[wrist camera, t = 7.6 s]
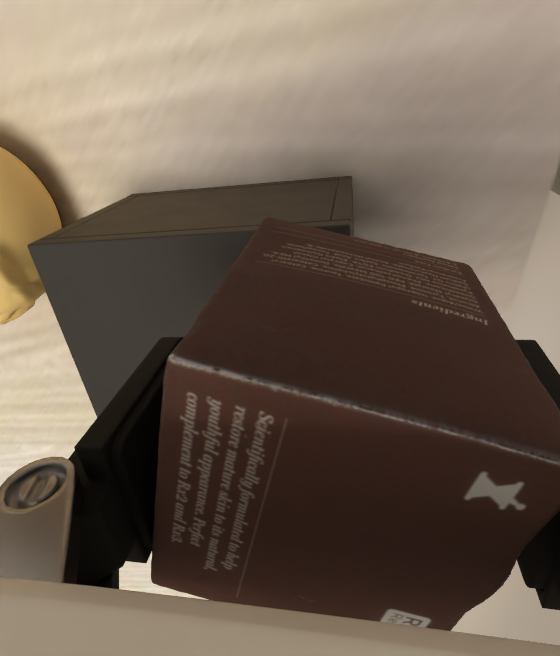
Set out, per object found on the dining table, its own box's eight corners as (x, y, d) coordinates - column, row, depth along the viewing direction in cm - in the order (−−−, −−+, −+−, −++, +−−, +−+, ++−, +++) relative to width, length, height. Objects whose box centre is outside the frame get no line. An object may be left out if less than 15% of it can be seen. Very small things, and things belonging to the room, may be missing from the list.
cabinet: (357, 383, 33) (357, 495, 24) (182, 381, 36) (123, 482, 27) (352, 175, 26) (350, 224, 16) (131, 194, 28) (25, 244, 19)
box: (265, 207, 12) (157, 346, 5) (476, 261, 12) (617, 469, 5) (233, 376, 15) (142, 587, 9) (399, 421, 15) (430, 670, 8)
